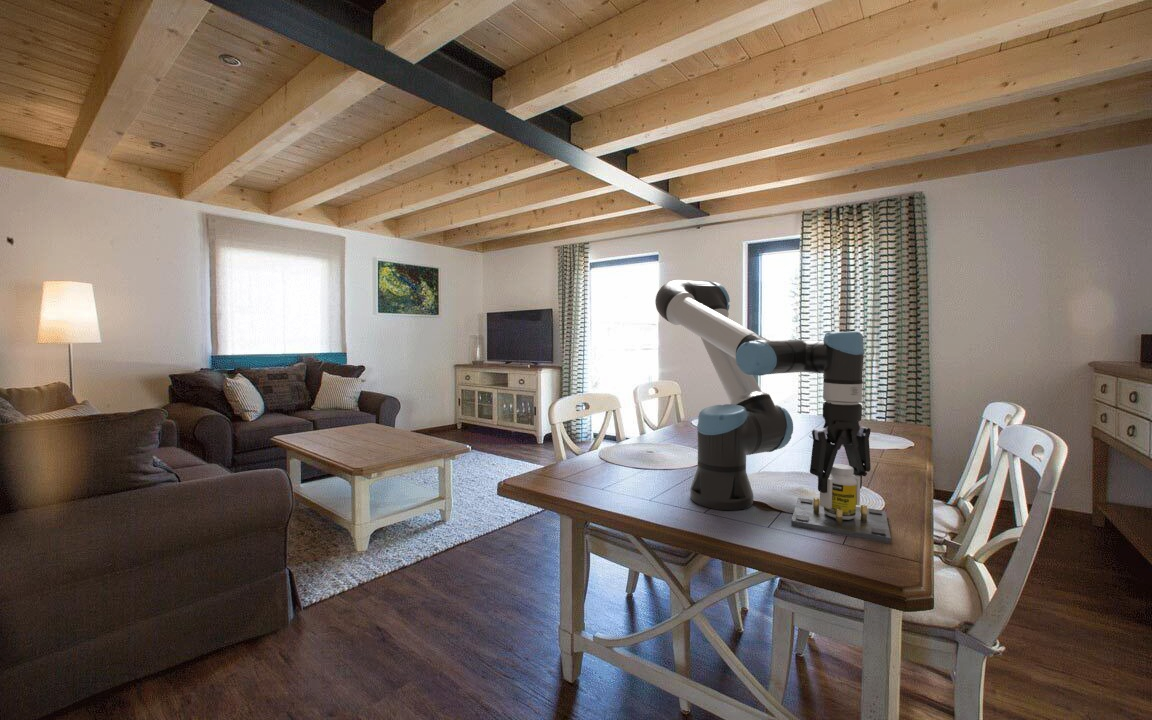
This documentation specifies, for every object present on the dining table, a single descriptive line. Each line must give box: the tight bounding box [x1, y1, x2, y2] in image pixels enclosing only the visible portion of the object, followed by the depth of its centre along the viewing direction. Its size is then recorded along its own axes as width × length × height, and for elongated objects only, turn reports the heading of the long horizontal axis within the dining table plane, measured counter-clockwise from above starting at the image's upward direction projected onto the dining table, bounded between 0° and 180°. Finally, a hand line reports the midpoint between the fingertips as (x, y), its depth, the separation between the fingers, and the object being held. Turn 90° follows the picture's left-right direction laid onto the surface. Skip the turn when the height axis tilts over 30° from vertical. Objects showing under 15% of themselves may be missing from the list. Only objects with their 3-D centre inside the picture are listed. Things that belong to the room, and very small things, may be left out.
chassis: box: [790, 497, 892, 545], centre depth 105 cm, size 18×16×4 cm
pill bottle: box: [824, 463, 857, 520], centre depth 104 cm, size 6×6×11 cm
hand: (839, 504), depth 104 cm, fingers open, 7 cm apart
